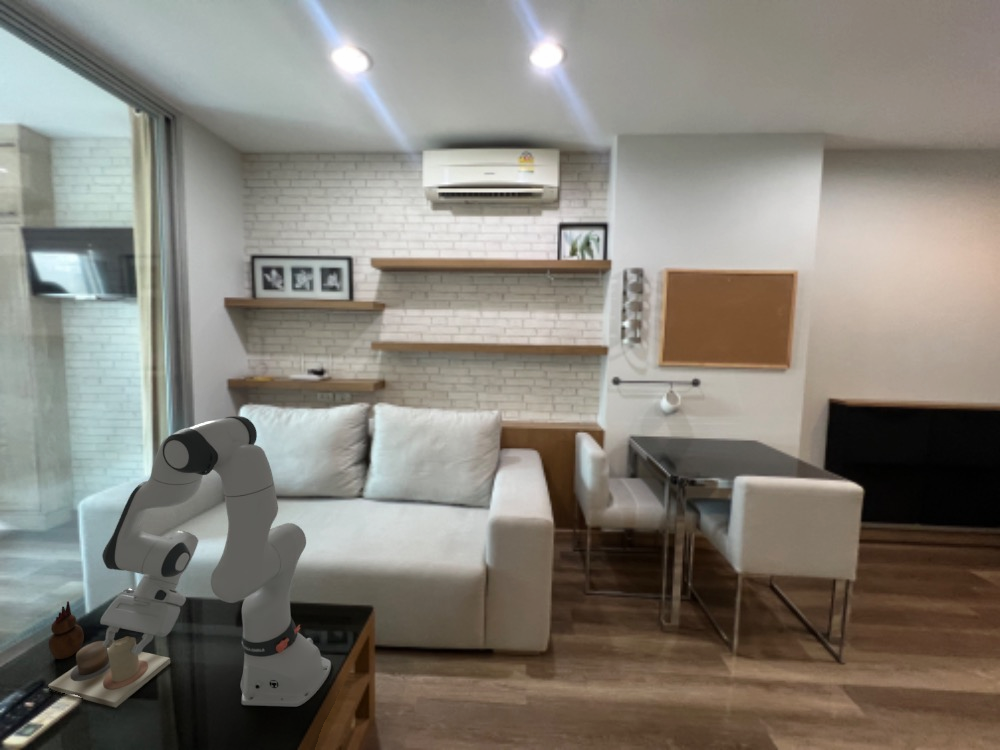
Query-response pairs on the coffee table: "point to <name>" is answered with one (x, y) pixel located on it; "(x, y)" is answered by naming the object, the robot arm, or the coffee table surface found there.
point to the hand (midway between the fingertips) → (120, 650)
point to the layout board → (105, 676)
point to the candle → (123, 659)
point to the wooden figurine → (65, 635)
